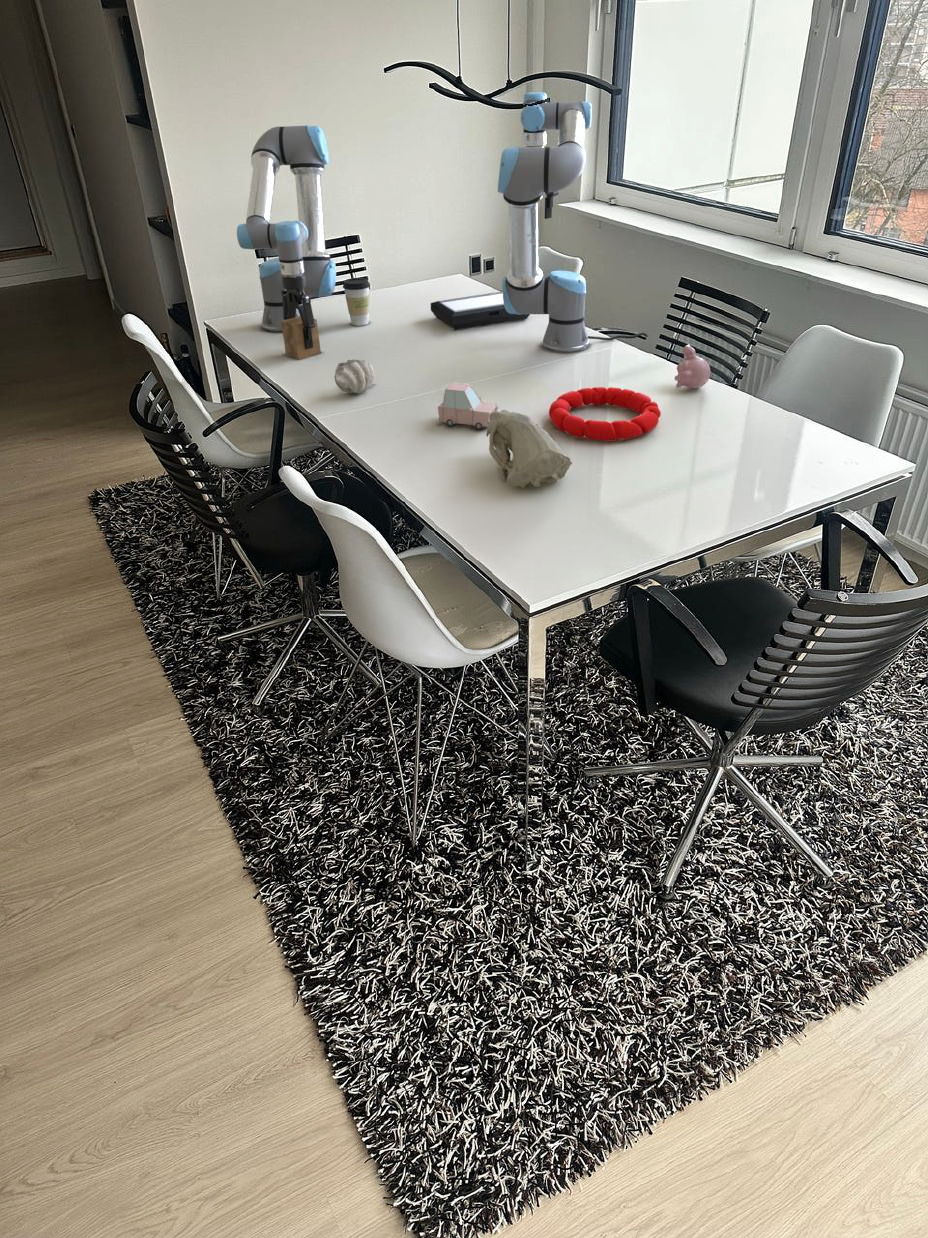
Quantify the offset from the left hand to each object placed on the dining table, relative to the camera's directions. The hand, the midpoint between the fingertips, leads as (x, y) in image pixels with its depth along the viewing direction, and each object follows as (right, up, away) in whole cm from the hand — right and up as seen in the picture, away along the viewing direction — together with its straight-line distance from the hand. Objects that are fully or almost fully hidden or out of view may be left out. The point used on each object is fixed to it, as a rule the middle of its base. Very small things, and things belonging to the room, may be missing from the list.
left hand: (302, 345), depth 298 cm
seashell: (+22, -24, -31) cm, 45 cm away
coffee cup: (+16, +17, +29) cm, 37 cm away
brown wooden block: (0, -2, +2) cm, 3 cm away
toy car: (+55, -38, -53) cm, 85 cm away
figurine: (+121, -24, -36) cm, 128 cm away
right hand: (+78, +47, +9) cm, 92 cm away
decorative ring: (+93, -38, -55) cm, 114 cm away
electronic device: (+61, +18, +29) cm, 70 cm away
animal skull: (+68, -55, -78) cm, 118 cm away
